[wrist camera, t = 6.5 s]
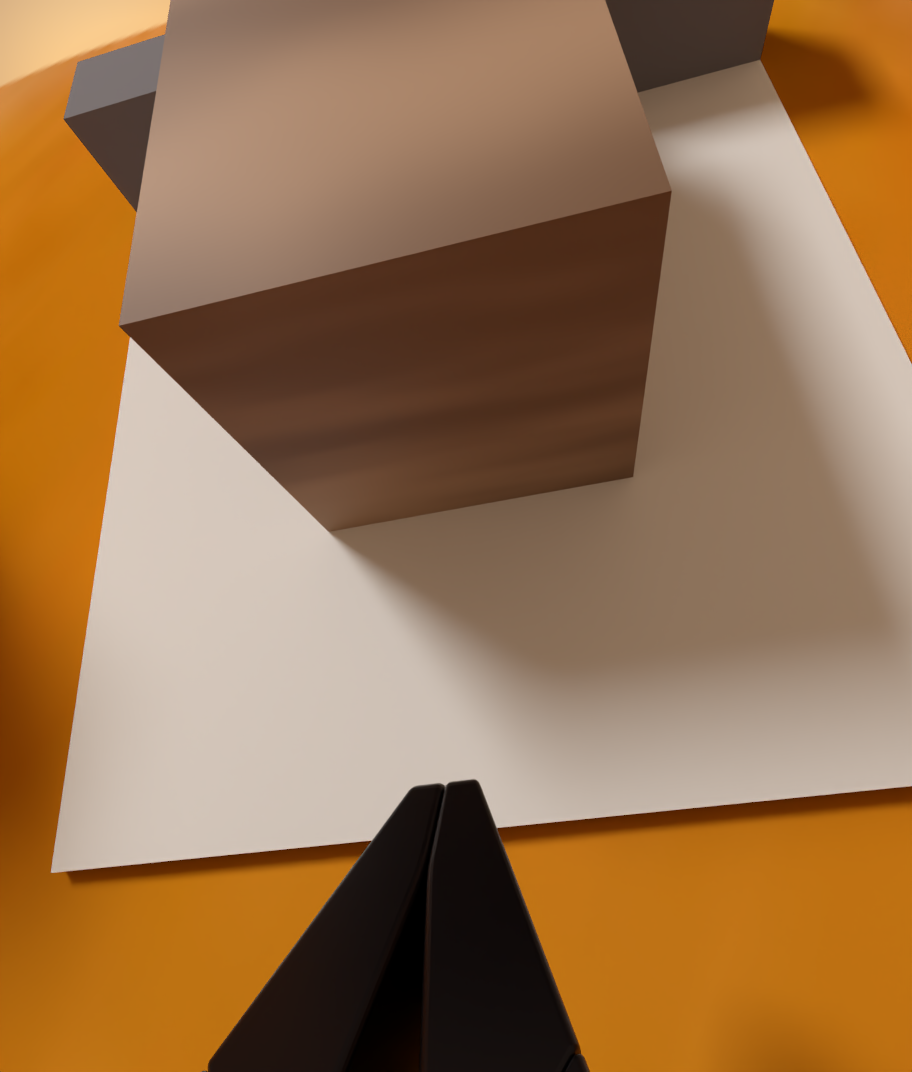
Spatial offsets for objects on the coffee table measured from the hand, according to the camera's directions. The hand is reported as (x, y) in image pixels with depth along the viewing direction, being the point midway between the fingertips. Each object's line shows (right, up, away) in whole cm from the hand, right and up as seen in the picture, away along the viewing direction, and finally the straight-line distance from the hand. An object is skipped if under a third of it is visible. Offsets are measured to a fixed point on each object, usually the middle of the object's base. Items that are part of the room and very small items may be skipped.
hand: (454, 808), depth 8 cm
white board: (0, +9, +11) cm, 14 cm away
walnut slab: (0, +11, +11) cm, 15 cm away
